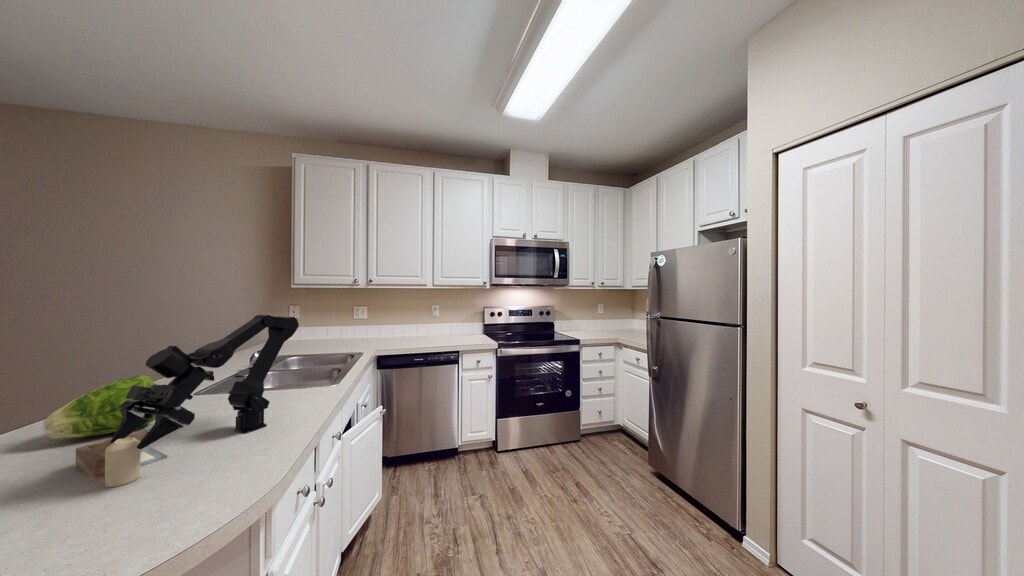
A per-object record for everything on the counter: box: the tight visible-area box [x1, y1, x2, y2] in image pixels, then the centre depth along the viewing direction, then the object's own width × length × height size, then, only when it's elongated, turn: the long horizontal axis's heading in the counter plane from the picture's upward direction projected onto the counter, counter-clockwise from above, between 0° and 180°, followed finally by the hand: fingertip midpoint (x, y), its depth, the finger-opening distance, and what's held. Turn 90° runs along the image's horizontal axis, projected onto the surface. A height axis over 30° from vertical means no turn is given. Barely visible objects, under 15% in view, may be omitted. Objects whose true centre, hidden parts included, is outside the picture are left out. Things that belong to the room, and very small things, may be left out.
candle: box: [104, 437, 141, 488], centre depth 79 cm, size 6×6×10 cm
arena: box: [75, 428, 168, 483], centre depth 87 cm, size 12×14×5 cm
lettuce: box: [42, 374, 156, 440], centre depth 104 cm, size 17×23×16 cm
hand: (125, 446), depth 80 cm, fingers open, 9 cm apart
